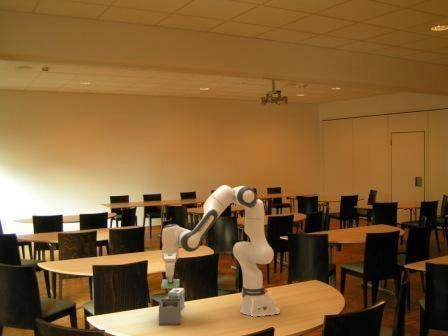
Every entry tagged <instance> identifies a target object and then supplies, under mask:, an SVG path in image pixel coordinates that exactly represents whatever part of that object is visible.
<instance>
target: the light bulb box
mask: <svg viewBox="0 0 448 336" xmlns="http://www.w3.org/2000/svg"><path fill="white" fill-rule="evenodd" d="M167 295H168V296H167V297H168V298H167V299H181V310H183V308H184V307H185V288H184V287H179V288H171V290H169V292H168V293H167Z"/></svg>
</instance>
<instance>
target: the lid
mask: <svg viewBox="0 0 448 336" xmlns="http://www.w3.org/2000/svg"><path fill="white" fill-rule="evenodd" d="M166 277H167V276H166ZM173 288H180V278H174V275H173V276H172V282H169V278H168V277H167V279H162V280H161V285H160V289H162V290H163V289H165V290H166V289H173Z"/></svg>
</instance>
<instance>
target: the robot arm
mask: <svg viewBox="0 0 448 336" xmlns="http://www.w3.org/2000/svg"><path fill="white" fill-rule="evenodd" d="M256 194H257V193H256V191H255V190H254V189H253V188H252V187H251V186H246V185H240V186H234V187H231V186H229V185H226V184H224V185H223V184H222V185H221V186H219V187H218V188H217V189H216V190H214V191H213V192H212V193H211V194H210V195H209V196H208V198H207V199H206V200H205V202H204V203H203V205H202V208H203V216H202V218H201V220H200V221H199V222H198V224H197V225H196V226H195V227H194V228H193V229H192V230H190V229H187V228H184V227H180V225H178V224H176V223H169V224H166V225H164V227H163V228H162V231H161V242H162V248H161V259H163V262H164V268H165V275H166V277H168V278H169V282H172V276H174V273H175V265H176V262H177V260H178V259H179V258H180V257H179V255H180V254H179V253H180V252H179V251H180V249H179V248H183V250H185V251H186V252H188V253H193V252H196V251H197V250H198V249H199V248H200V246H201V244H202V241H203V238H204V237H205V236H206V234H208V231H209V230H210V229H211V228H212V226H213V225H214V224H215V222H216V220H217V219H218V218H219V217H220V216H221V214H222V213H223V212H224V211H225V210H226V209H227V207H228V206H229V205H230V204H233V205H236V206H238V207H239V206H240V207H243V208H244V227H243V230H244V233H245V235H247V236H248V238H249V239H250V241H239V242H235V244H234V245H233V248H232V254H233V257H234V258H235V259H236V260H237V261H238V263H239V265H240V269H241V273H242V286H241V297H242V300H241V304H240V305H241V306H240V310H239V312H240V313H241V314H243V315H245V314H246V316H250V315H251V316H250V317H252V316H253V317H254V318H258V317H257V316H260V317H266V316H265V315H271V316H274V315H273V314H278V313H280V314H281V310H280V308H279V307H277V304H276V301H275V299H273V297H272V296H270V295H269V294H267V293H268V292H269V291H268V289H267V288H266V287H265V286H263V277H264V275H263V272H262V271H261V269H260V268H258V266H257V264H258V265H267V264H271V262H273V261H272V260H273V259H274V254H275V253H274V249H273V248H272V247H271V245H270V244H269V242H268V240H267V239H266V236H265V205H264V202H263V201H262V200H261V199H259V198H258V197H257V195H256Z"/></svg>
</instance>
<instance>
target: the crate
mask: <svg viewBox="0 0 448 336" xmlns="http://www.w3.org/2000/svg"><path fill="white" fill-rule="evenodd" d="M181 311H182V309H181V299H168V298H160V301H159V305H158V326H179V325H181V314H182V313H181Z"/></svg>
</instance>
